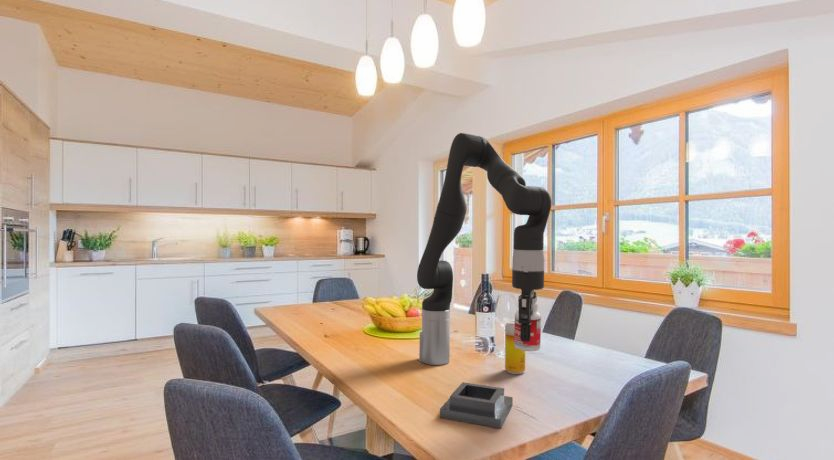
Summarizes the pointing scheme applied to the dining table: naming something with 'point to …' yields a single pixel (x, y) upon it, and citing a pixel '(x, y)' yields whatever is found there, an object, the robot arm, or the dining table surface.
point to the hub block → (478, 405)
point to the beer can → (513, 352)
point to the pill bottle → (534, 332)
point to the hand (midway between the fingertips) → (527, 337)
